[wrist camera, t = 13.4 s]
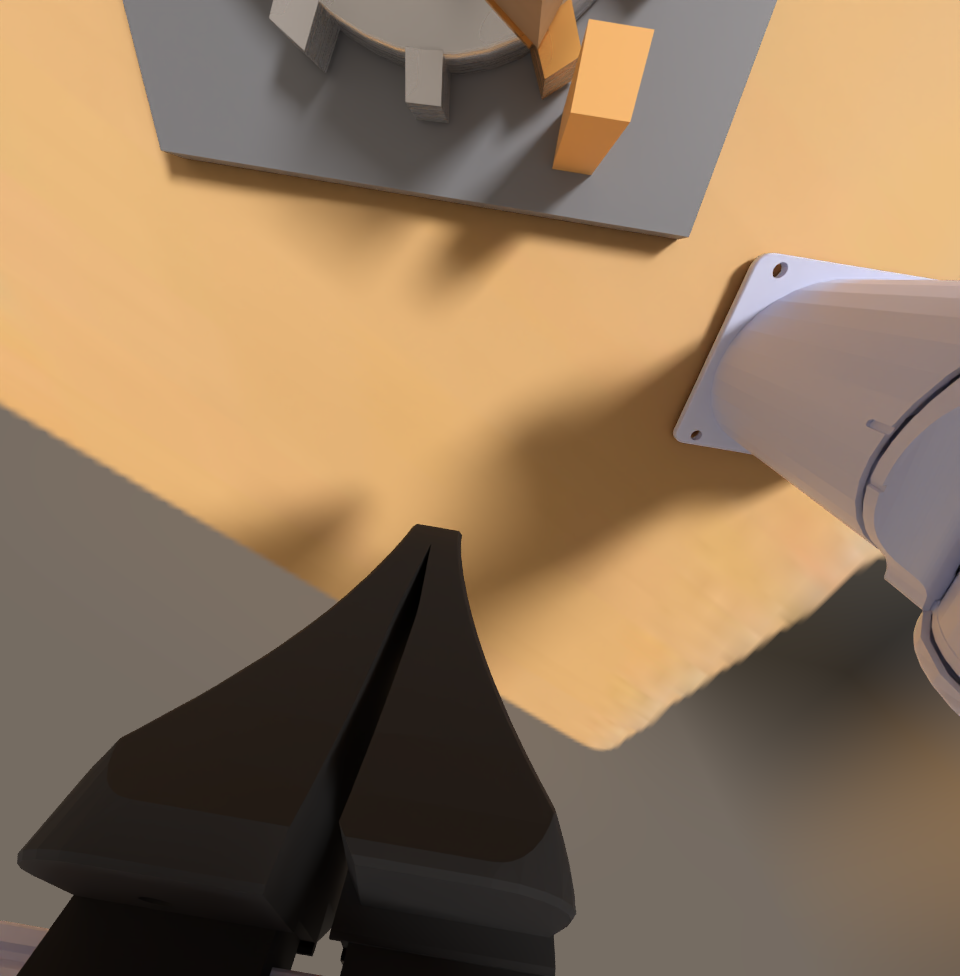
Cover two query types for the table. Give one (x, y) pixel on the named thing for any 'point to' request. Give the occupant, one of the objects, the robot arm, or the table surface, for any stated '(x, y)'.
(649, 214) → the base plate
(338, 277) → the table surface
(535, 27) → the link block
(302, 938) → the robot arm
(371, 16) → the sprocket
